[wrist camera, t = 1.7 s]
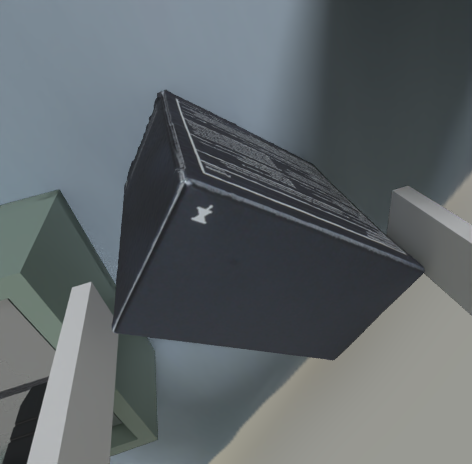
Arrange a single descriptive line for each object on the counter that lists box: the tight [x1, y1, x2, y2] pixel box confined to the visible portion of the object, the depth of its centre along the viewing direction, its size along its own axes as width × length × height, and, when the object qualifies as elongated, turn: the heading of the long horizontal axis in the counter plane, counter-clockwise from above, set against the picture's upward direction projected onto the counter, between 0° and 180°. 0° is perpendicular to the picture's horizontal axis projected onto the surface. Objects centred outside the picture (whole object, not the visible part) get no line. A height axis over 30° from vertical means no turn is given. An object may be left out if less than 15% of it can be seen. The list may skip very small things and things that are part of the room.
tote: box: [0, 190, 158, 456], centre depth 19 cm, size 13×16×7 cm
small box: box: [112, 90, 425, 360], centre depth 15 cm, size 11×6×10 cm, turn 62°
